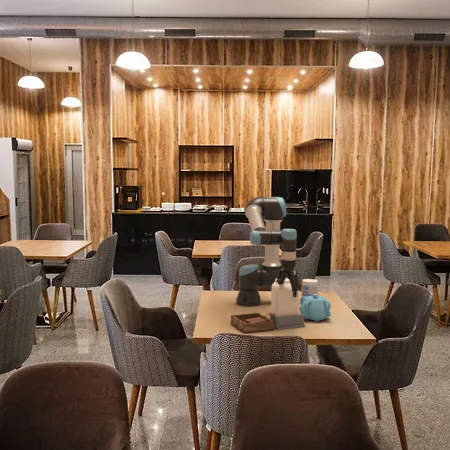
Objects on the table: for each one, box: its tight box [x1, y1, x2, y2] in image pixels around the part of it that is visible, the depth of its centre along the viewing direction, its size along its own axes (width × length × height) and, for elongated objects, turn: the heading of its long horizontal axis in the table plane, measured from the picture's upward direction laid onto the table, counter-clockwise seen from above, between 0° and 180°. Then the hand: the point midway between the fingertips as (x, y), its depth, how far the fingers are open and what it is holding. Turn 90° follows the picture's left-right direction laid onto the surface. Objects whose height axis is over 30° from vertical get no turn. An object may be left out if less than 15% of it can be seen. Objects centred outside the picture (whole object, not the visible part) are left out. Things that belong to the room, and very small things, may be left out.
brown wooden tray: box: [230, 312, 275, 334], centre depth 267 cm, size 18×16×4 cm
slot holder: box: [269, 313, 306, 331], centre depth 270 cm, size 10×16×6 cm, turn 112°
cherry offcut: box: [245, 317, 266, 324], centre depth 264 cm, size 6×9×2 cm, turn 124°
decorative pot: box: [299, 293, 332, 322], centre depth 284 cm, size 16×16×14 cm
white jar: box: [270, 277, 292, 314], centre depth 293 cm, size 12×12×20 cm
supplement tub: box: [300, 278, 319, 302], centre depth 316 cm, size 10×10×15 cm
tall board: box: [275, 289, 300, 317], centre depth 269 cm, size 3×12×18 cm, turn 112°
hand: (287, 299), depth 269 cm, fingers open, 13 cm apart
